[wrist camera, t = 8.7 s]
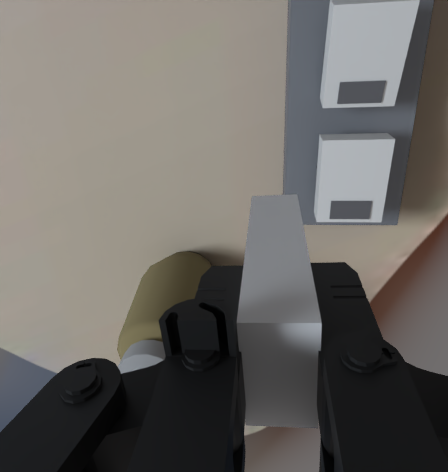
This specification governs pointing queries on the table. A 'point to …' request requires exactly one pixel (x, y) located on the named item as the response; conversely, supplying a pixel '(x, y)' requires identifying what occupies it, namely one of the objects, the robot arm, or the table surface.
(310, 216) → the switch strip
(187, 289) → the squeeze bottle
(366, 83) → the block
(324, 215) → the plate
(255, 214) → the robot arm
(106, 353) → the table surface
